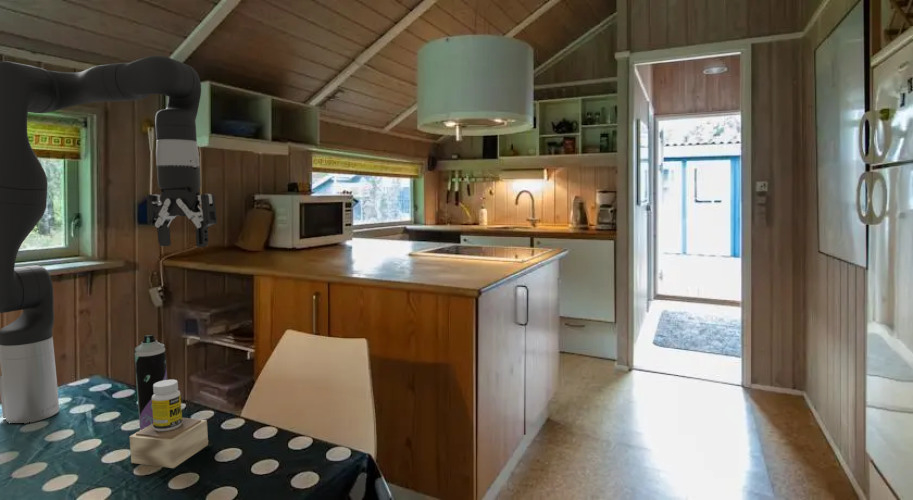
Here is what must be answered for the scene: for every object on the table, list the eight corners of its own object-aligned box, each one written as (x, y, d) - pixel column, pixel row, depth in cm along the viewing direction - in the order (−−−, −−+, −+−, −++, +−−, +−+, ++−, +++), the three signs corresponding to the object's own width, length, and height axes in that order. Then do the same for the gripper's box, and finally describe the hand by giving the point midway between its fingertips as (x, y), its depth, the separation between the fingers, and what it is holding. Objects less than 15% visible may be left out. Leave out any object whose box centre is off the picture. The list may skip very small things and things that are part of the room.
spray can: (147, 437, 105) (140, 340, 103) (135, 430, 109) (128, 336, 107) (175, 428, 110) (169, 334, 108) (163, 421, 113) (156, 330, 111)
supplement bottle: (173, 432, 96) (170, 387, 95) (148, 432, 96) (144, 387, 95) (187, 421, 101) (184, 378, 100) (163, 421, 101) (160, 378, 100)
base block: (131, 462, 96) (129, 434, 95) (168, 440, 104) (167, 414, 104) (173, 468, 94) (171, 439, 93) (208, 444, 102) (206, 418, 102)
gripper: (132, 164, 102) (138, 247, 103) (196, 162, 98) (201, 249, 100) (162, 166, 109) (167, 244, 111) (222, 164, 106) (226, 245, 107)
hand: (183, 246), depth 105 cm, fingers open, 8 cm apart
